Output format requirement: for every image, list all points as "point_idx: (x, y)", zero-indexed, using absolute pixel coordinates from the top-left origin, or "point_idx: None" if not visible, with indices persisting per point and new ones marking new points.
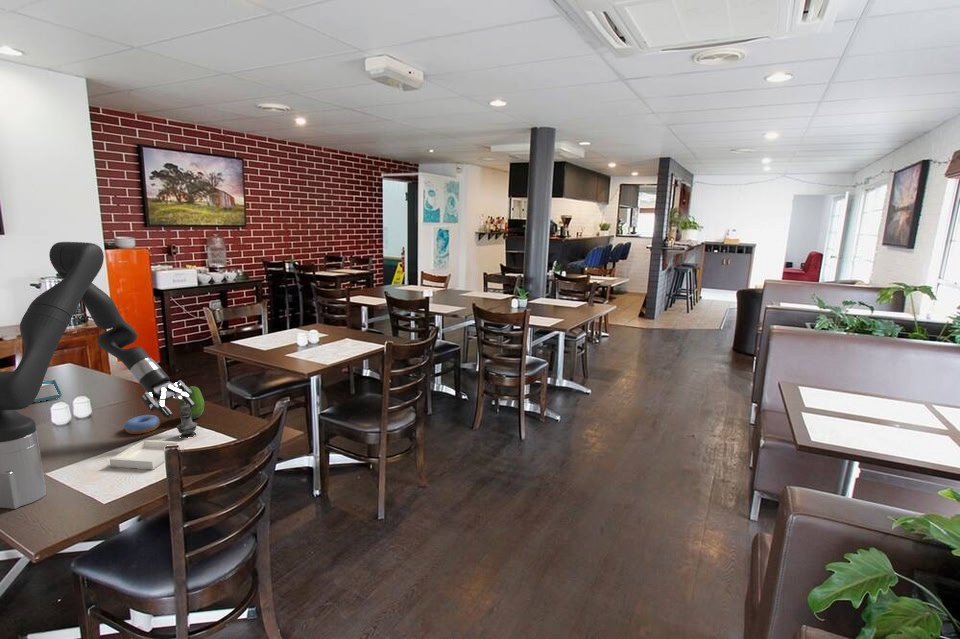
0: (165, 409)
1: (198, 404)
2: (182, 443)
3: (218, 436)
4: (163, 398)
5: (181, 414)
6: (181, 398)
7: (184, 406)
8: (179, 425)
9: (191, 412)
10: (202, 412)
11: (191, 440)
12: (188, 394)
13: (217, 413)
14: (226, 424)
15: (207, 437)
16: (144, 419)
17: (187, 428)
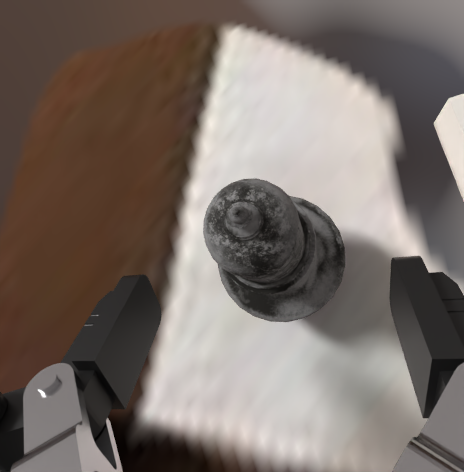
0: (448, 330)
1: None
2: (457, 97)
3: (235, 112)
4: (444, 467)
5: (304, 243)
6: (103, 439)
7: (277, 192)
8: (311, 288)
9: None
10: None
11: (325, 192)
12: (19, 400)
13: (3, 370)
14: (107, 201)
15: (264, 150)
16: None
17: (315, 208)
